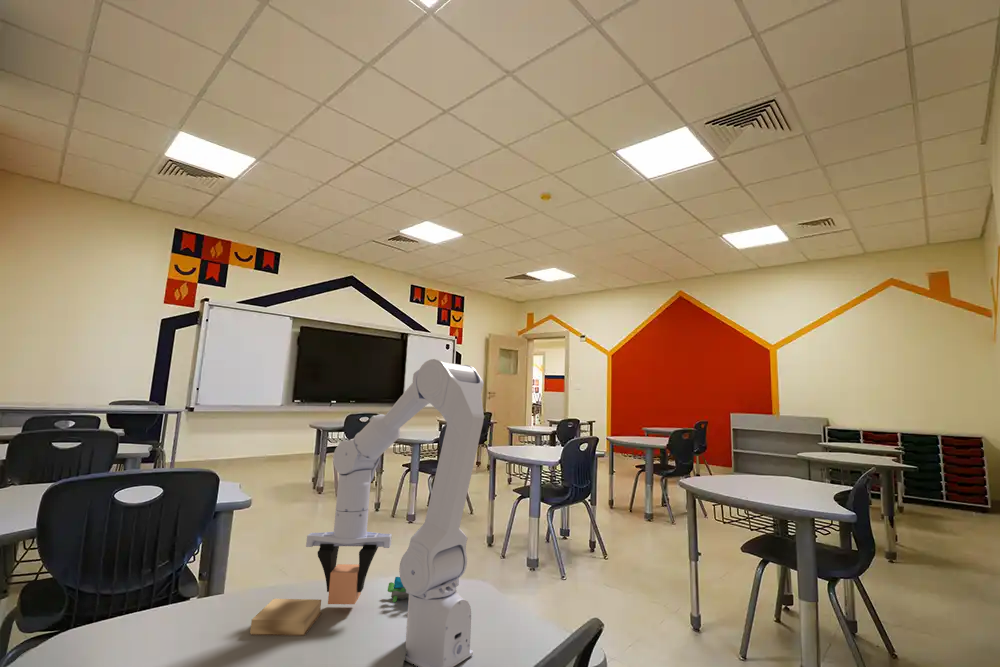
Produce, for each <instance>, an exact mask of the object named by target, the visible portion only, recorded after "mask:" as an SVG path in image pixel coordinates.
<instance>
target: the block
mask: <svg viewBox="0 0 1000 667" xmlns="http://www.w3.org/2000/svg"><path fill="white" fill-rule="evenodd" d="M358 576H359V564H353V563H352V564H349V563H348V564H346V563H345V564H339V563H338V564H336V567H335V568H334V569H333V570H332V572H331V574H330V585H329V592H328V597H327V598H328V599H327V605H356V602H357V601H358V600H359V598H360V597H361V594H362V591H361V592H357V583H358Z"/></svg>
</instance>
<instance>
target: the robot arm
mask: <svg viewBox="0 0 1000 667" xmlns="http://www.w3.org/2000/svg"><path fill="white" fill-rule="evenodd" d="M483 388H484V380H483V378H482V377H481V376H480V374H479V372H478V371H477V370H476V368H474V367H473V366H471V365H468V364H458V363H453V362H452V363H451V362H447V361H441V360H440V359H435V358H432V359H429V360H426V361H425V362H423V364H422V365H420V367H419V369H417V370H416V371H415V372H414V373H413V374H412V383H411V384H410V385H409V386H408V387H407V389H406V390H405V391H404V392H403V393H402V395H400V397H399V398H398V399H397V401H396V402H395V403H394V404H393V406H392V407H391V408H390V409H389V410H388V411H387V413H386V414H383V413H380V414H377V415H372V416H371V418H369V422H368V423H367V424H366V425H365V426H364V427H363V428H362V429H361V430H360V431H359V432H357V433H356V434H355V436H354V437H353V438H350V439H349V440H342V441H340V442H339V443H338V445H337V446H336V448H335V449H334V451H333V458H332V461H333V467H334V470H336V472H337V473H338V478H337V492H336V502H335V503H336V505H335V514H334V522H333V524H334V525H333V531H324V532H310V533H309V534H307V535H306V544H305V547H306V548H313V547H319V548H318V551H317V557H318V559H319V562H320V563H321V566H322V569H323V574H324V577H325V583H326V584H325V585H326V593H329V585H330V574H331V572H332V570H333V569H334V568H335V567H336V566H337V562H338V554H339V549H340V547H361V549H360V550H359V552H358V562H359V563H358V565H359V576H358V583H357V592H361V593H362V591H363V590H364V586H365V581H366V577H367V574H368V573H369V572H368V571H369V569H370V566H371V563H372V561H373V559H374V556H375V554H376V553H377V550H378V549H379V547H380V548H381V547H382V548H383V549H389V548H391V546H392V536H393V534H392V533H381V532H372V531H368V522H369V510H370V509H369V506H370V494H371V482H373V480H374V478H375V477H374V476H375V472H376V469H377V468H378V466H379V464H380V461H381V456H382V455H383V454H384V453H385V452H386V451H387V450H388V449H389V448H390V447H391V446H392V445H393V444H394V443H395V442H396V441H397V440H398V439H399V438H400V434H401V428H402V427H403V426H404V425H406V423H407V422H409V421H410V420H411V419H412V418H413V417H414V416H416V415H417V414H418V413H419V412H420V411H422V410H423V409H424V408H425V407H426V406H427V405H429V404H430V405H432V406H433V408H434V409H435V410H437V412H438V413H440V414H441V416H442V417H443V419H444V421H445V423H446V427H445V431H444V435H443V441H442V446H441V450H440V453H439V458H438V463H437V468H436V471H435V476H434V480H433V485H432V489H431V494H430V498H429V503H428V506H427V507H428V508H427V510H426V514H425V519H424V521H423V523H422V524H421V525H420V527H419V528H418V529H417V531H416V532H415V533H414V534H413V535H412V537H411V538H410V539H409V545H408V547H407V549H406V551H405V552H404V553H403V555H402V557H401V558H400V562H399V568H398V569H399V577H400V578H401V582H402V584H403V586H404V588H405V589H406V593H408V594H409V598H407V599H408V601H407V602H408V603H407V616H406V618H407V620H406V633H405V648H406V652H405V655H404V659H403V660H404V661H406V662H407V663H409V664H411V665H413V664H414V665H413V666H415V667H417V666H418V667H455V666H457V665H458V664H460V663H462V662H463V661H465V660H467V659H468V658H470V657H471V656H473V655H474V650H472V649H471V635H472V633H471V632H472V631H471V630H472V608H471V604H470V603H469V601H467V600H466V599H465V598H463V597H462V596H461V595H460V594H459V592H458V591H457V587H459V586H460V578H461V577H463V575H464V573H465V572H466V569H467V565H468V558H467V557H468V556H467V542H468V537H467V535H466V534H465V532H463V530H462V529H461V528H460V527H461V523H462V519H463V514H464V509H465V504H466V502H467V496H468V491H469V486H470V483H471V479H472V475H473V469H474V466H475V465H474V464H475V460H476V456H477V452H478V451H477V450H478V447H479V442H480V439H481V435H482V434H481V433H482V429H483V426H484V419H485V415H484V407H483V400H482V394H483V392H482V391H483Z"/></svg>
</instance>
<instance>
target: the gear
mask: <svg viewBox="0 0 1000 667" xmlns="http://www.w3.org/2000/svg"><path fill="white" fill-rule="evenodd" d="M387 592H388V593H391V595H390V597H391V599H392V603H396V602H397V601H398V600H402V599H409V594H408V593H406V589H405V588H404V586H403V584H402V582H401V578H400V576H395V578H394V582H391V581H390V582H389V583H388V586H387Z"/></svg>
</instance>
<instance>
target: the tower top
mask: <svg viewBox="0 0 1000 667" xmlns="http://www.w3.org/2000/svg"><path fill="white" fill-rule="evenodd" d="M321 608H322V599H313V598H311V599H310V598H309V599H307V598H303V599H302V598H300V599H299V598H273V599H272V600H271V601H269V603H268V604H266V605H265V607H263V608H262V609H261V610H260V611H259V612H258V613H257V614H256V615H255V616H254V617H253V618H252V619H251V623H250V624H251V625H250V631H249V634H250V635H251V634H302V635H303V634H304V633H305V632H306V630H307V629H308V628H309V626H310V625H311V624H312V622H313V621H314V620H315V618H316V617H317V616H318V614H319V613H320V612H321Z"/></svg>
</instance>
